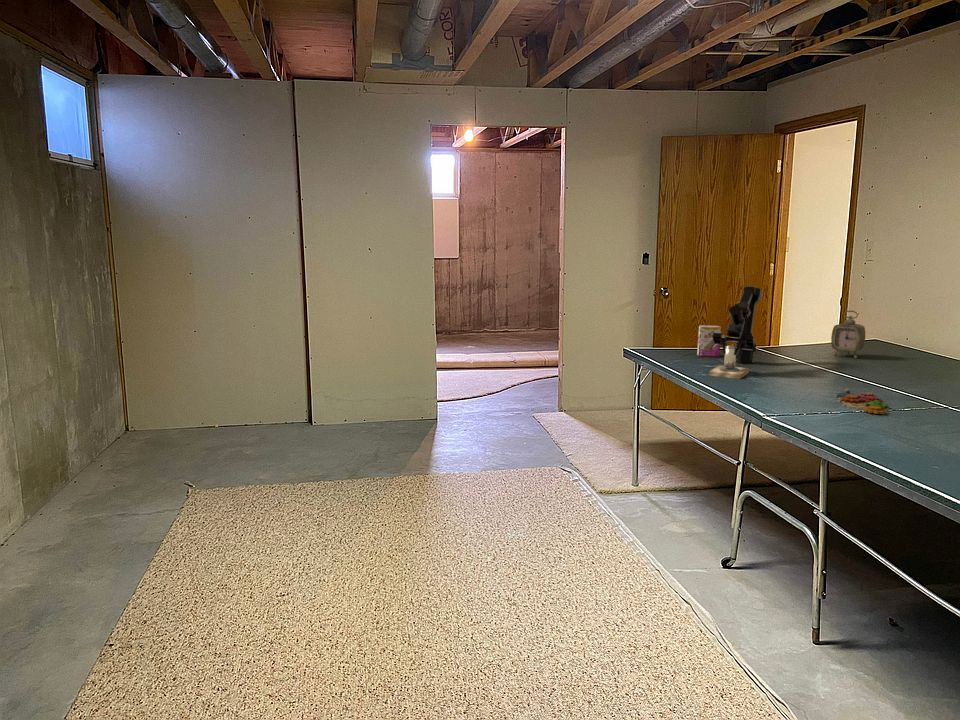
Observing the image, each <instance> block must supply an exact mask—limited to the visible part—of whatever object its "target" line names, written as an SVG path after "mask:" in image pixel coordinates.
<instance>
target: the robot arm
mask: <svg viewBox="0 0 960 720" xmlns="http://www.w3.org/2000/svg"><path fill="white" fill-rule="evenodd" d="M742 289H743V290H742V296H741V298H740V300H739V302H737V303H735V304H734V305H733V306H730V308H728V312H729V317H730V320H731V323H728V324H727V325H726V334H727V335H724V334H723V333H722V332H721V333H714V334H713V336H712V337H713V341H714V343H715V344H720V346H722V350H723V351H722V352H723V355H725V346H727V345H728V343H727V342H735V343H736V345H735V346H736V351H735V355H736V356H737V360H736V361H735V363H736V362H737V363H739V364H744V365H746V364H755V362H754V361H753V359H754V353H755V352H757V343H756V341H755V337H754V336H755V335H754V334H753V329H754V327H753V326H754V320H755V313H756V306H757V305H758V304H759V302H760V301H761V297H763V290H762V289H761V288H760V287H755V286H750V285H746V286H744V287H743V288H742Z"/></svg>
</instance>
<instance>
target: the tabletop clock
mask: <svg viewBox="0 0 960 720" xmlns="http://www.w3.org/2000/svg"><path fill="white" fill-rule="evenodd" d="M846 313H854V314H856V316H852V315H849V316H846ZM843 315H844V318H846V319H845V321H844V323H840V324H835V325H834V326H833V328H832V332H831V335H830V336H831V337H830V339H831V341H830V343H831V347H832V349H833V350H836V351H835V352H834V353H832V355H833V356H834V357H836V356H837V353H838V352H839V351H840V352H846V356H847V357H850V356H851V354H850V352H851V353H854V356H853V359H857V358H858V355H857V354H856V353H857V351H861V350H863V348H864V346H865V341H866V327H865V325H862V324H857V323H856V321H855V319H857V318H858V316H859V314H858V312H857V311H854V310H846V311H845V312H844V313H843Z"/></svg>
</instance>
